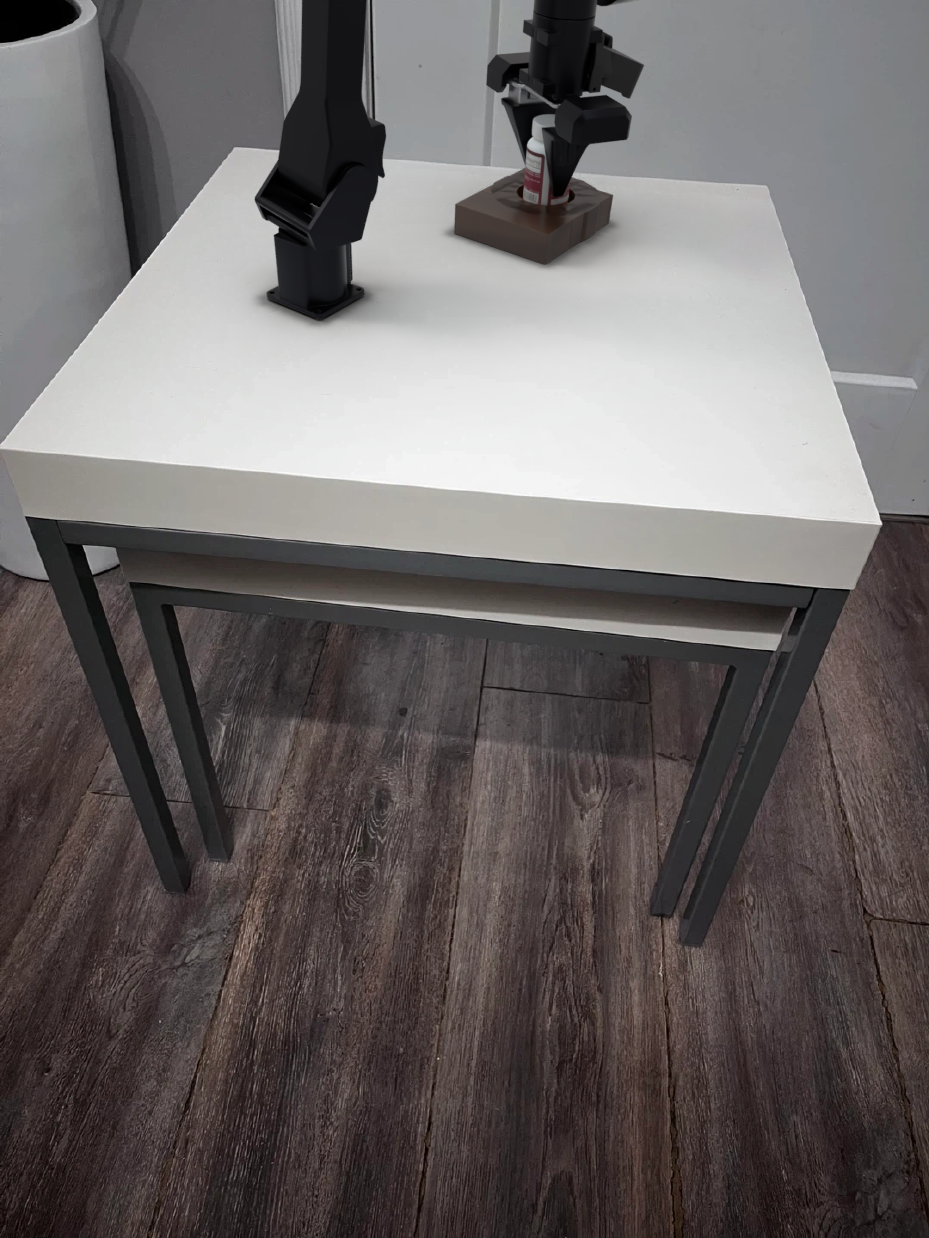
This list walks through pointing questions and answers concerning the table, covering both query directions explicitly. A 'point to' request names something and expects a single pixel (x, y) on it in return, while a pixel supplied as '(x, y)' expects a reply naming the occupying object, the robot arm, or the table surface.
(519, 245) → the brown block with hole
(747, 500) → the table surface
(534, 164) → the pill bottle
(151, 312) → the table surface
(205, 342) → the table surface
